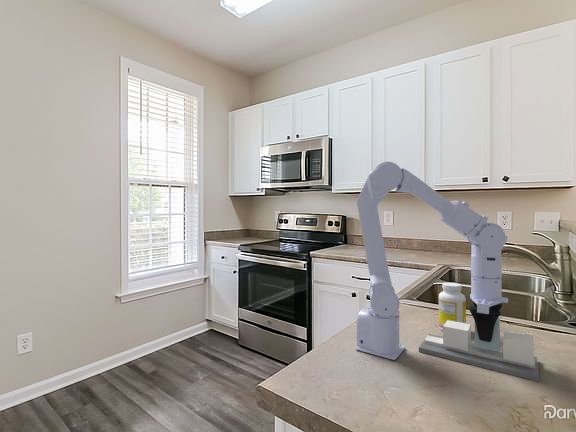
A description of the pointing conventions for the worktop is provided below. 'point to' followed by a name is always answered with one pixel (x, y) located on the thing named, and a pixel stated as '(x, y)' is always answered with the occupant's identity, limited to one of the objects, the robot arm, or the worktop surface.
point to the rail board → (484, 351)
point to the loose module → (494, 342)
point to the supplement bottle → (451, 304)
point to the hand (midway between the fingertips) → (486, 337)
